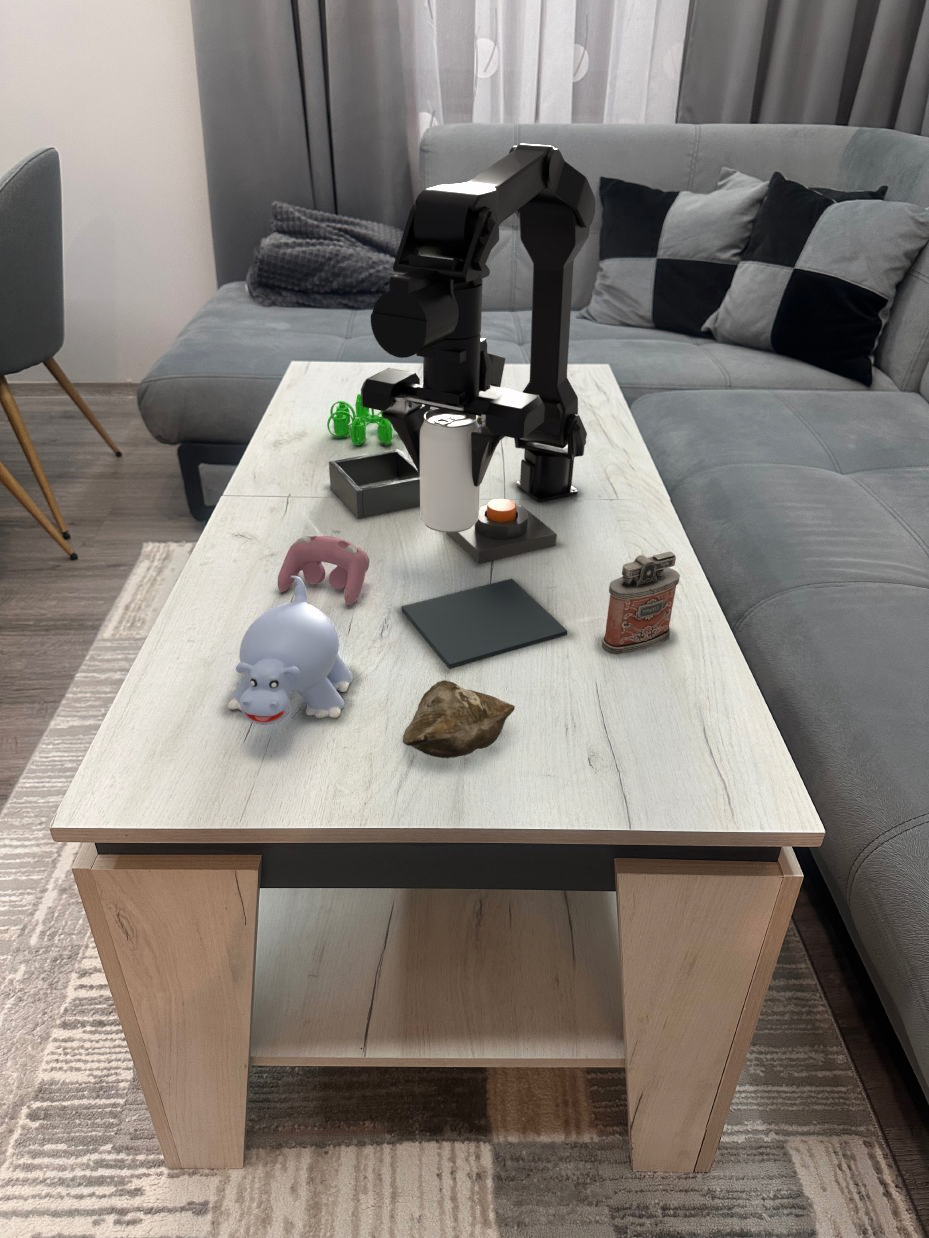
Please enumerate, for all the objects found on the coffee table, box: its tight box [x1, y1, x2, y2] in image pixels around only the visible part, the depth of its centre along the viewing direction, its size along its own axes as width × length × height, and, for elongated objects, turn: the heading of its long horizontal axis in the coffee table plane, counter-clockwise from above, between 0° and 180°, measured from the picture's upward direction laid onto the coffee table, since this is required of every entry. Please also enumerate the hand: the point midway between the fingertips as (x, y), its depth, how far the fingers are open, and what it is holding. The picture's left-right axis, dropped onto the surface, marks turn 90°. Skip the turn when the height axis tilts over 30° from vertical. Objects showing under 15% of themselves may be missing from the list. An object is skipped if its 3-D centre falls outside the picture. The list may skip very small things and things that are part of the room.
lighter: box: [601, 550, 681, 656], centre depth 90 cm, size 8×3×10 cm, turn 118°
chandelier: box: [326, 393, 395, 446], centre depth 139 cm, size 15×15×7 cm
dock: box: [328, 449, 420, 520], centre depth 120 cm, size 11×11×4 cm
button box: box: [446, 504, 558, 565], centre depth 110 cm, size 11×9×4 cm
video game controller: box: [277, 535, 370, 606], centre depth 99 cm, size 10×5×7 cm, turn 71°
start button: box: [486, 498, 517, 522], centre depth 109 cm, size 4×4×2 cm
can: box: [419, 408, 481, 534], centre depth 94 cm, size 6×6×12 cm
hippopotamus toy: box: [227, 575, 354, 726], centre depth 81 cm, size 11×15×10 cm
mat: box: [401, 578, 568, 670], centre depth 95 cm, size 14×12×1 cm
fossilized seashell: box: [402, 679, 516, 759], centre depth 78 cm, size 8×7×10 cm
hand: (450, 478), depth 95 cm, fingers closed on can, 6 cm apart
